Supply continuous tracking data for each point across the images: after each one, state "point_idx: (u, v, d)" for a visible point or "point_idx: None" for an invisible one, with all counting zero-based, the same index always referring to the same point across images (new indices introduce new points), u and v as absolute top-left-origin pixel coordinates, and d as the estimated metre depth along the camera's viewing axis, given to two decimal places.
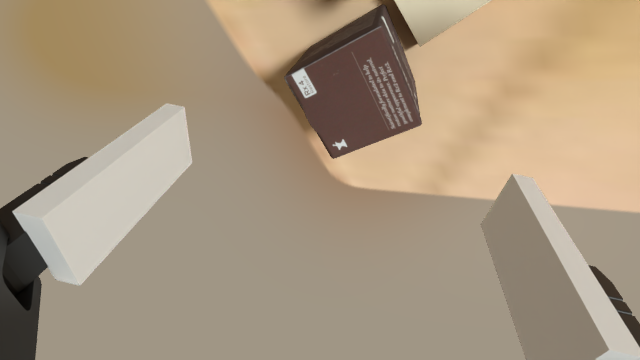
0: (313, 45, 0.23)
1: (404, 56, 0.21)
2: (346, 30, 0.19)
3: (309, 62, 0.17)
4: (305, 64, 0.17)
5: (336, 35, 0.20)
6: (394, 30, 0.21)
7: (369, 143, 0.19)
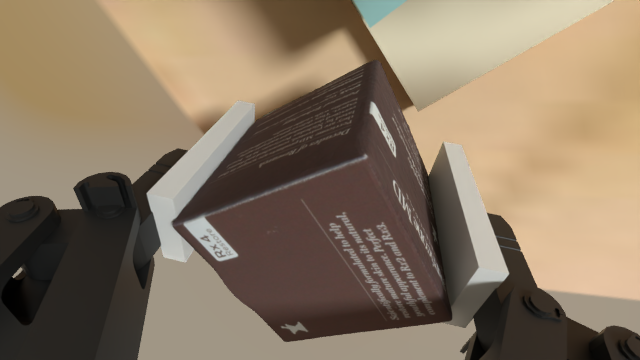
0: (260, 120, 0.14)
1: (412, 146, 0.12)
2: (306, 114, 0.10)
3: (217, 203, 0.08)
4: (210, 205, 0.08)
5: (289, 119, 0.11)
6: (395, 104, 0.12)
7: (349, 332, 0.10)
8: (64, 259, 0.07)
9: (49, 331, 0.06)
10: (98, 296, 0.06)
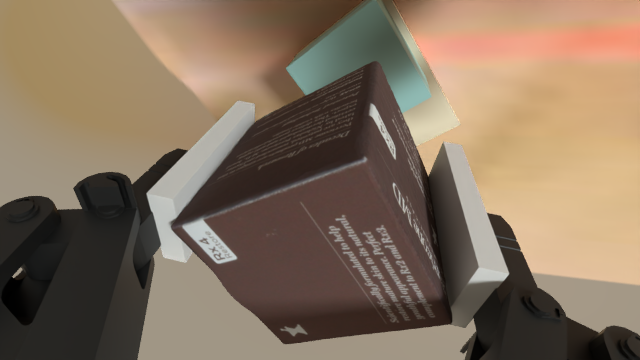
0: (259, 121, 0.13)
1: (412, 147, 0.12)
2: (305, 115, 0.10)
3: (216, 205, 0.08)
4: (209, 207, 0.08)
5: (289, 121, 0.11)
6: (395, 105, 0.12)
7: (348, 334, 0.10)
8: (64, 259, 0.07)
9: (49, 331, 0.06)
10: (98, 295, 0.06)
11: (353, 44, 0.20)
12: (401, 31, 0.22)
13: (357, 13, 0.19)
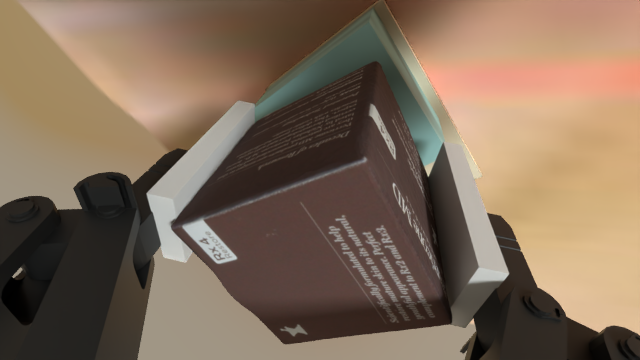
0: (259, 121, 0.13)
1: (412, 148, 0.12)
2: (305, 116, 0.10)
3: (216, 205, 0.08)
4: (209, 208, 0.08)
5: (289, 121, 0.11)
6: (395, 105, 0.12)
7: (348, 334, 0.10)
8: (64, 259, 0.07)
9: (49, 331, 0.06)
10: (98, 296, 0.06)
11: None
12: (406, 60, 0.17)
13: (343, 42, 0.13)
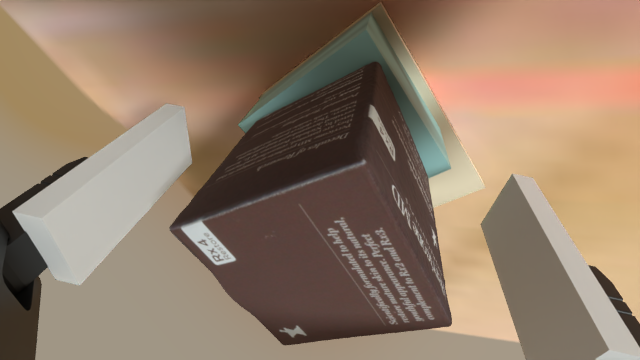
0: (259, 121, 0.13)
1: (412, 148, 0.12)
2: (305, 116, 0.10)
3: (215, 207, 0.08)
4: (207, 209, 0.08)
5: (288, 122, 0.11)
6: (395, 106, 0.12)
7: (347, 336, 0.10)
8: None
9: None
10: None
11: None
12: (406, 68, 0.16)
13: (339, 51, 0.12)
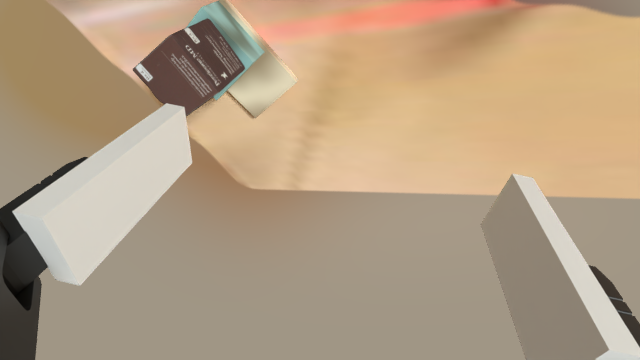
0: None
1: (226, 51, 0.32)
2: None
3: (143, 59, 0.28)
4: (142, 60, 0.29)
5: None
6: (216, 34, 0.32)
7: (194, 107, 0.30)
8: None
9: None
10: None
11: None
12: (240, 24, 0.36)
13: (195, 16, 0.32)
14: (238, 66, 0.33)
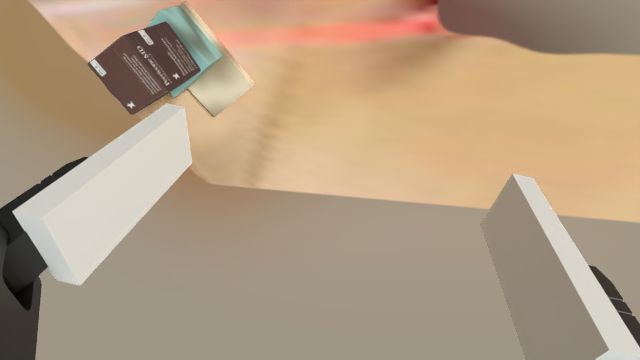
0: None
1: (182, 53, 0.35)
2: None
3: (98, 55, 0.30)
4: None
5: None
6: (173, 37, 0.34)
7: (145, 103, 0.32)
8: None
9: None
10: None
11: None
12: (200, 28, 0.38)
13: (154, 18, 0.34)
14: (193, 68, 0.36)
